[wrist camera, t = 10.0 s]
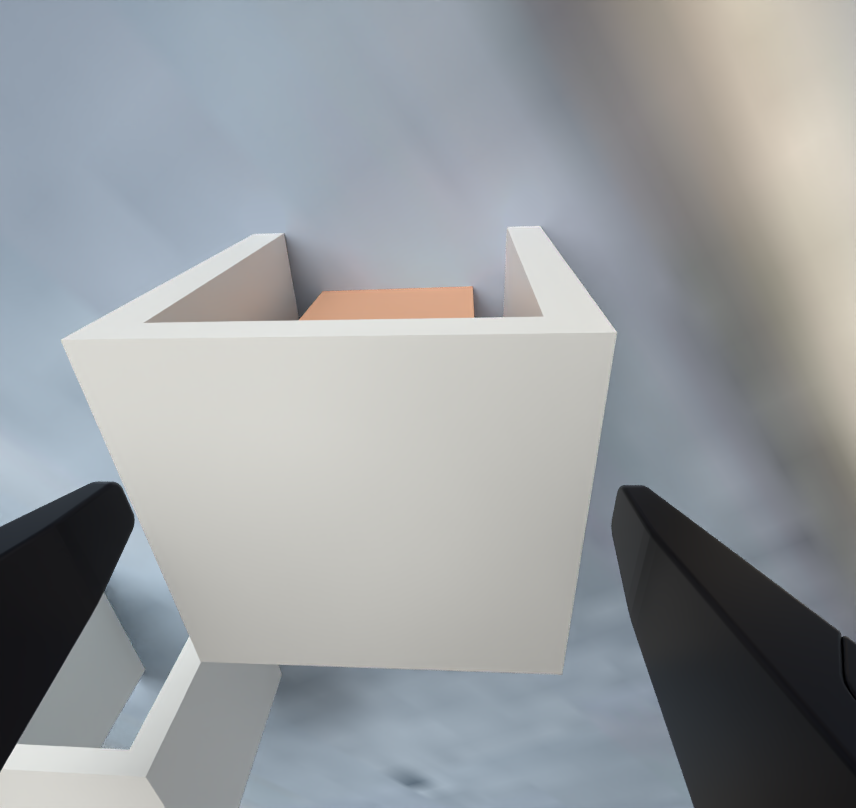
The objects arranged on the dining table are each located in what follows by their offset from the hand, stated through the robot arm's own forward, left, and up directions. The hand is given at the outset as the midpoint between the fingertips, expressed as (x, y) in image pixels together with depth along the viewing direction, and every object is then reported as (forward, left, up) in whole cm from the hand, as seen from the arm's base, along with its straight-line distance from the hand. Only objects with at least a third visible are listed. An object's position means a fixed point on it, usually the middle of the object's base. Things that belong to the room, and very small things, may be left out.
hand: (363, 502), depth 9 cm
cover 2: (0, 0, -6) cm, 6 cm away
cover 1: (-12, +10, -6) cm, 17 cm away
